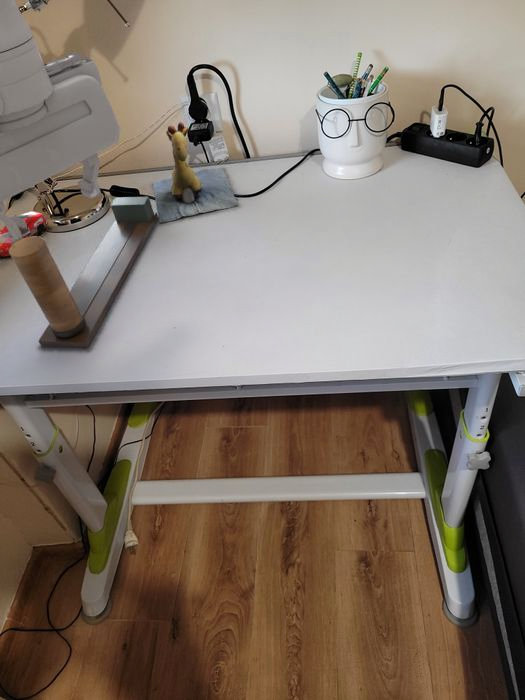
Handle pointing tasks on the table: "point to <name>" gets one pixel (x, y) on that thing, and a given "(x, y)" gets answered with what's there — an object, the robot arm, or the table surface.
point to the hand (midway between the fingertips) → (58, 214)
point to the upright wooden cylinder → (47, 286)
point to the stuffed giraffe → (190, 185)
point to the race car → (35, 224)
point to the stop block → (132, 209)
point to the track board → (103, 280)
